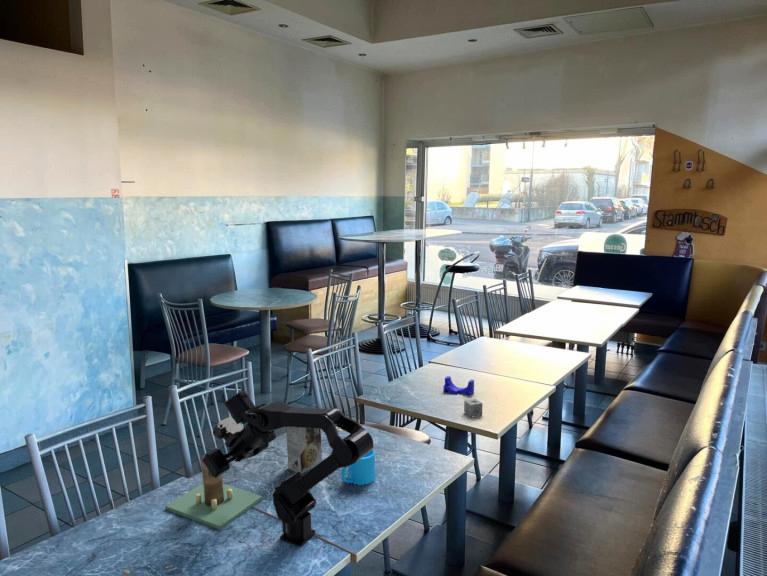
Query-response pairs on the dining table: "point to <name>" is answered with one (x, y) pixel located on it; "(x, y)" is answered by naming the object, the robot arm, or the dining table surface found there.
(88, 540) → the dining table surface
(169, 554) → the dining table surface
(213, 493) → the walnut cylinder
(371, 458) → the mug
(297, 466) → the coffee box
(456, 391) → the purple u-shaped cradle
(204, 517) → the standoff plate
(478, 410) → the dice cube
